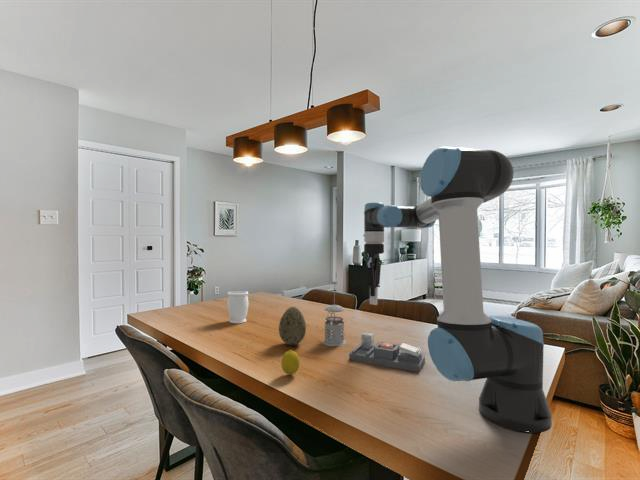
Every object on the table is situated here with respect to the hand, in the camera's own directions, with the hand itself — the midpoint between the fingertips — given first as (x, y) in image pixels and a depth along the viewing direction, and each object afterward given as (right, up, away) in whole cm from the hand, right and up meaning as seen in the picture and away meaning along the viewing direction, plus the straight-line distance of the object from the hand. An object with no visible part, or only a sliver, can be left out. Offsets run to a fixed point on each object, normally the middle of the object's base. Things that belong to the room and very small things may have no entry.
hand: (373, 304), depth 127 cm
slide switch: (-3, -15, -6) cm, 16 cm away
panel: (+3, -17, -13) cm, 21 cm away
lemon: (-30, -18, -25) cm, 43 cm away
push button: (+3, -15, -13) cm, 20 cm away
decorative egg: (-32, -17, +4) cm, 36 cm away
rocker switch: (+10, -13, -16) cm, 23 cm away
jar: (-62, -17, +39) cm, 75 cm away
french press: (-15, -17, +8) cm, 24 cm away
